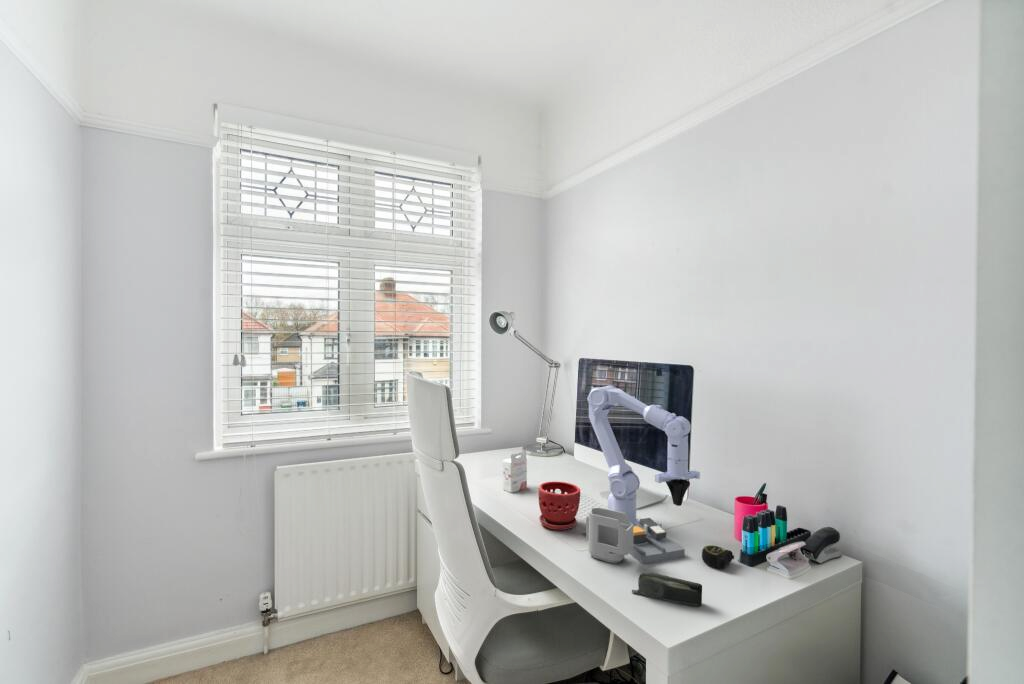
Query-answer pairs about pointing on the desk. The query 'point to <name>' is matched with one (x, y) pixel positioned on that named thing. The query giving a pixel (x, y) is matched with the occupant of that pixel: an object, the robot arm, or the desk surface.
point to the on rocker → (653, 528)
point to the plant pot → (558, 505)
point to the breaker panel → (656, 549)
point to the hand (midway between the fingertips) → (677, 504)
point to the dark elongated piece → (670, 589)
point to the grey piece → (609, 534)
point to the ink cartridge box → (515, 473)
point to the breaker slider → (638, 535)
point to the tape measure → (716, 556)
